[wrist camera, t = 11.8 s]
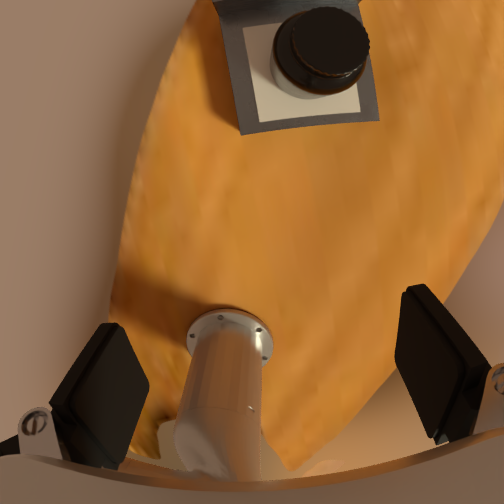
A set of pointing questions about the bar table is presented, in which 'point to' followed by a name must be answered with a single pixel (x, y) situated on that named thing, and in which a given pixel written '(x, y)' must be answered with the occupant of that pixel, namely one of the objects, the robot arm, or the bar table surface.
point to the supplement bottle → (319, 53)
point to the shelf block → (261, 81)
